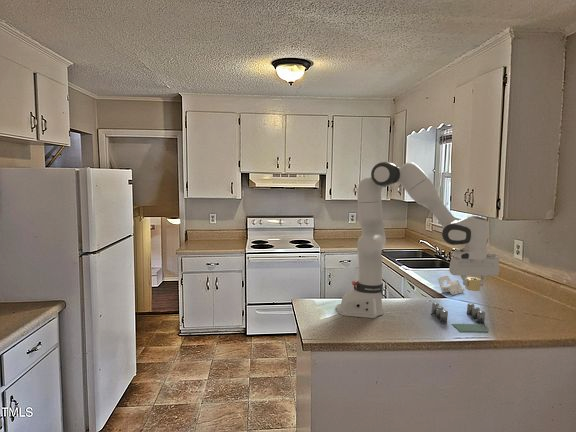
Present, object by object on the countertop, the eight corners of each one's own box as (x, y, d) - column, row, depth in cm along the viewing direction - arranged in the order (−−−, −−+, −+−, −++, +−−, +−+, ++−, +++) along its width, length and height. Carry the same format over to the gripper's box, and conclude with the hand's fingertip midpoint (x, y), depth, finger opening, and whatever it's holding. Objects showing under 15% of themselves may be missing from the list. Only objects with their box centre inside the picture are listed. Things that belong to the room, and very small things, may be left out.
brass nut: (470, 291, 166) (470, 280, 166) (463, 287, 172) (464, 276, 172) (481, 291, 167) (482, 280, 166) (475, 287, 172) (475, 277, 172)
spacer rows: (441, 323, 176) (442, 312, 176) (430, 312, 189) (431, 302, 189) (485, 323, 177) (486, 313, 176) (471, 313, 190) (472, 303, 189)
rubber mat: (459, 331, 167) (459, 330, 167) (451, 324, 175) (451, 323, 175) (487, 332, 167) (487, 331, 167) (478, 325, 175) (478, 324, 175)
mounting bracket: (456, 293, 228) (450, 275, 230) (465, 291, 223) (459, 273, 225) (443, 296, 221) (437, 277, 224) (452, 295, 216) (446, 275, 219)
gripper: (495, 252, 171) (492, 283, 172) (448, 251, 171) (446, 282, 172) (503, 255, 165) (500, 287, 166) (455, 254, 164) (452, 287, 166)
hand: (472, 285), depth 169 cm, fingers closed on brass nut, 5 cm apart
